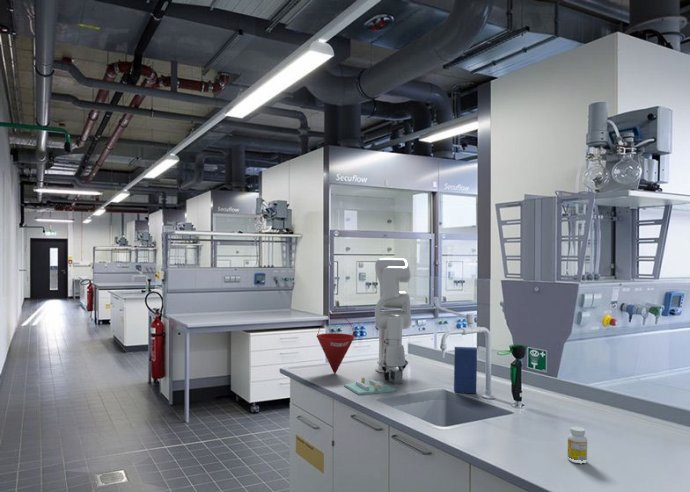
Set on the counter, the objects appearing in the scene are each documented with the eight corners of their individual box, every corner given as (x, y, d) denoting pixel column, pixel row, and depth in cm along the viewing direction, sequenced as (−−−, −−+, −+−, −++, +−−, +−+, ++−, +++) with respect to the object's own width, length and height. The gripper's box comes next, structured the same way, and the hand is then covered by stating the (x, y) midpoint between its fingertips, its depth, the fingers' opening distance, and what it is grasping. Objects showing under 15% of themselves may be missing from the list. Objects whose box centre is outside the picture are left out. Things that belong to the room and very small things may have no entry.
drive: (384, 379, 249) (384, 367, 249) (391, 379, 251) (391, 366, 251) (394, 384, 240) (395, 371, 240) (402, 384, 242) (402, 371, 242)
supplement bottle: (584, 466, 148) (584, 433, 149) (565, 461, 152) (565, 428, 152) (589, 460, 152) (589, 428, 153) (570, 456, 156) (570, 424, 156)
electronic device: (474, 391, 231) (475, 347, 231) (476, 394, 225) (477, 349, 226) (453, 390, 231) (454, 346, 232) (454, 393, 226) (455, 348, 227)
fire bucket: (323, 379, 246) (325, 317, 247) (307, 371, 264) (309, 313, 264) (362, 375, 256) (363, 316, 257) (344, 367, 274) (345, 312, 274)
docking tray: (344, 386, 235) (344, 378, 235) (378, 383, 242) (378, 375, 242) (359, 395, 220) (359, 386, 220) (395, 391, 228) (395, 383, 228)
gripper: (381, 344, 239) (381, 382, 238) (413, 342, 246) (412, 379, 246) (374, 341, 246) (373, 379, 245) (405, 340, 253) (404, 376, 252)
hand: (393, 379), depth 245 cm, fingers open, 6 cm apart
